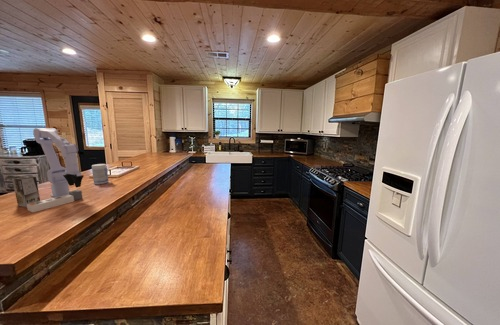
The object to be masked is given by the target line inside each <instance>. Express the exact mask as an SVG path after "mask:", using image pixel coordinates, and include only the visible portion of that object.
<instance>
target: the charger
mask: <svg viewBox="0 0 500 325" xmlns="http://www.w3.org/2000/svg"><path fill="white" fill-rule="evenodd" d="M69 195H73V197H74V201H79V200H82V199H83V193H82V190H80V189H75V190H69Z"/></svg>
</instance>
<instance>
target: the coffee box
mask: <svg viewBox="0 0 500 325" xmlns="http://www.w3.org/2000/svg"><path fill="white" fill-rule="evenodd" d="M11 180H12V184H13V185H12V186H13V189H14V194H15V199H16V203H17V204H16V205H17V206H19V207H23V208H27V204H29V203H34V202H38V201H41V197H40V191H39V187H38V180H37V177H36V176H31V175H24V176H23V175H22V176H18V177H12V178H11Z"/></svg>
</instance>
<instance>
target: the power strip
mask: <svg viewBox="0 0 500 325" xmlns="http://www.w3.org/2000/svg"><path fill="white" fill-rule="evenodd" d="M73 202H75V200H74V197H73V195H69V194H67V195H63V196H59V197H52V198H46V199H43V200H40V201H38V202H34V203H29V204H27V207H26V208H27V211H29V212H31V213H36V212H39V211H43V210H47V209H50V208H55V207H58V206H63V205H65V204H69V203H73Z"/></svg>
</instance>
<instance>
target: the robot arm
mask: <svg viewBox="0 0 500 325" xmlns="http://www.w3.org/2000/svg"><path fill="white" fill-rule="evenodd" d="M32 134H33V137H34V140H35V141H36V143H38V144H39V145H40V146H41V148H42V151H43V153H44V155H45V159H47V162H48V165H49V169H48V170H47V172H46V176H47V181H48V182H49V183H50V184H51V185H50V189H51V194H50V197H52V198H54V197H59V196H63V195H67V194H69V191H70V187H71V186H75V188H80V187H81V186H82V182H83V181H82V180H83V178H84V176H85V175H83V174H82V172H81V171H80V170H79V163H78V156H77V154H78V153H79V148H78V145H77V144H76V143H70V142H69V141H68V140H67V139H66V138H64V137H61V136H59V133H58V130H57V129H56V128H54V127H51V128H50V127H45V128H43V127H42V128H41V127H39V128H38V127H35V128H34V129H33V132H32ZM53 143H54V145H55V146H56V147H57V148H59V149H60V153H61V154H62V158H63V159H64V164H65V165H64V166H65V167H64V166H62V165H61V163H60V160H59V158H58V156H57V153H56V151H55V148H54V145H53ZM69 186H70V187H69Z"/></svg>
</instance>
